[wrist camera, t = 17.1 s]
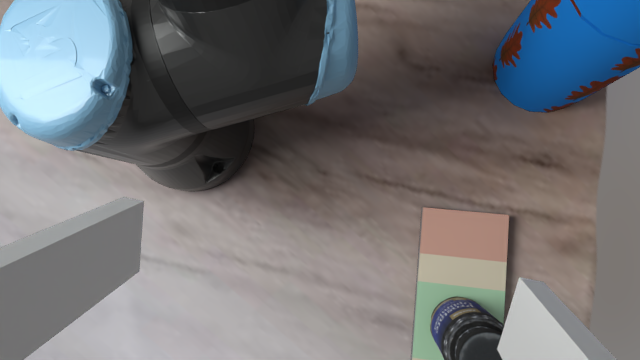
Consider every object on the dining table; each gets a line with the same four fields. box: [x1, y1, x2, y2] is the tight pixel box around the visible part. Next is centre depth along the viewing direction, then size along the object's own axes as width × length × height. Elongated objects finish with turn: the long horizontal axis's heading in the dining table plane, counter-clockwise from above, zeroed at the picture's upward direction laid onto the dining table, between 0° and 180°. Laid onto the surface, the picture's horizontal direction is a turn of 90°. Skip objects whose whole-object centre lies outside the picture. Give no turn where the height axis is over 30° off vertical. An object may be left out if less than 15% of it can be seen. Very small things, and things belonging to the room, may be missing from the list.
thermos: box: [493, 0, 640, 112], centre depth 32 cm, size 11×11×25 cm
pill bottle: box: [430, 296, 504, 360], centre depth 36 cm, size 6×6×11 cm
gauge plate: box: [411, 207, 509, 360], centre depth 42 cm, size 9×24×1 cm, turn 174°
